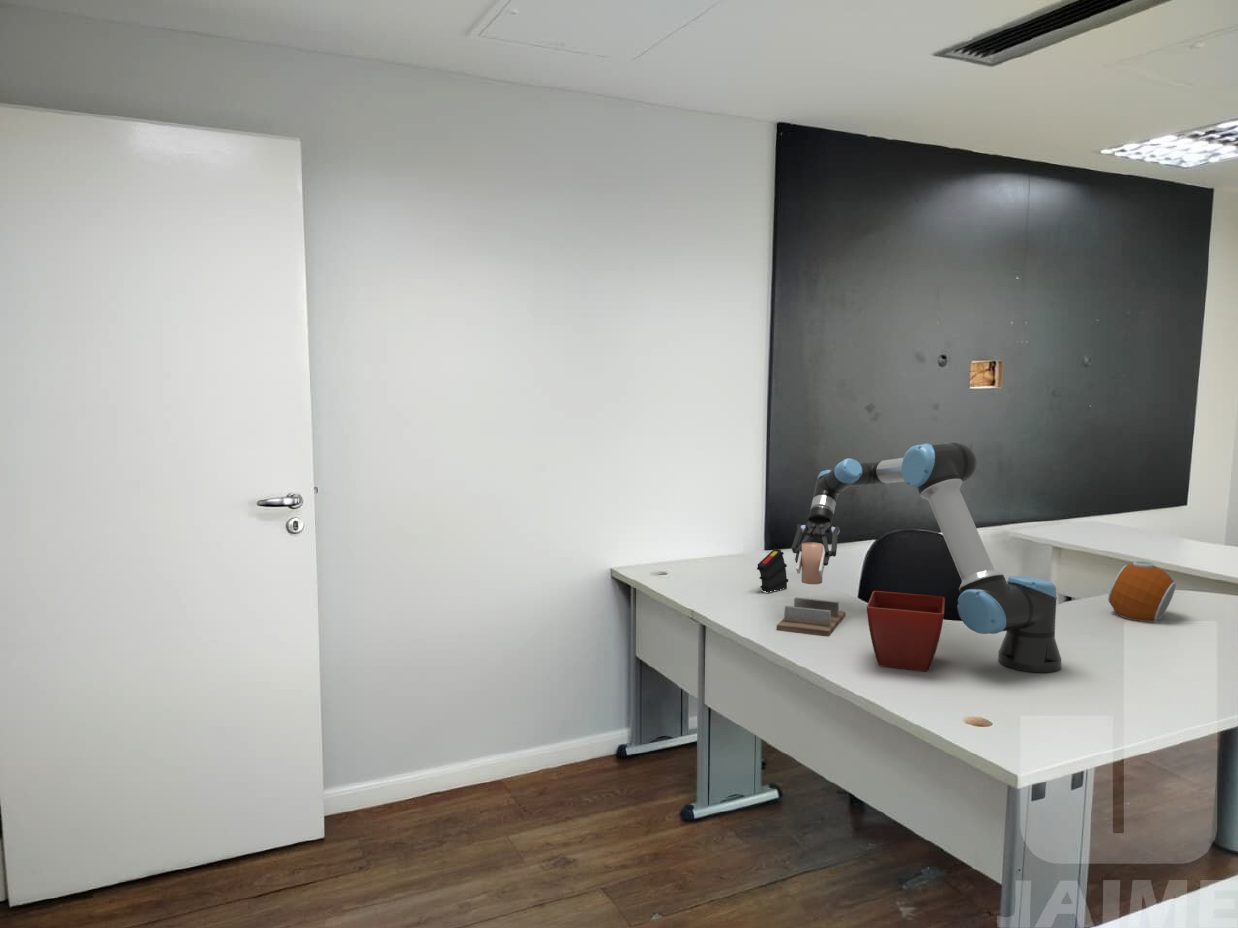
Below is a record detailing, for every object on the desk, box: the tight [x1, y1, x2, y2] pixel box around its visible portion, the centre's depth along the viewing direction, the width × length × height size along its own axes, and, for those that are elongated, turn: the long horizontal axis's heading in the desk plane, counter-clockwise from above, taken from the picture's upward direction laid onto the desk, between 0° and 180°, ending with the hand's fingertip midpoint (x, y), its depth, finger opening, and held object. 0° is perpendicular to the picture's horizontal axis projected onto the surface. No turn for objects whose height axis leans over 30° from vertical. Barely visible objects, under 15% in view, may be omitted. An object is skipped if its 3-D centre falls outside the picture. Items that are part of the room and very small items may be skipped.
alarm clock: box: [1107, 560, 1177, 622], centre depth 269 cm, size 19×18×17 cm
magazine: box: [756, 548, 789, 592], centre depth 309 cm, size 4×13×15 cm, turn 130°
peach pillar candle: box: [801, 541, 824, 585], centre depth 266 cm, size 6×6×12 cm
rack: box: [776, 597, 847, 637], centre depth 267 cm, size 24×16×6 cm, turn 154°
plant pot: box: [866, 590, 946, 672], centre depth 228 cm, size 19×19×17 cm
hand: (809, 571), depth 263 cm, fingers closed on peach pillar candle, 6 cm apart
